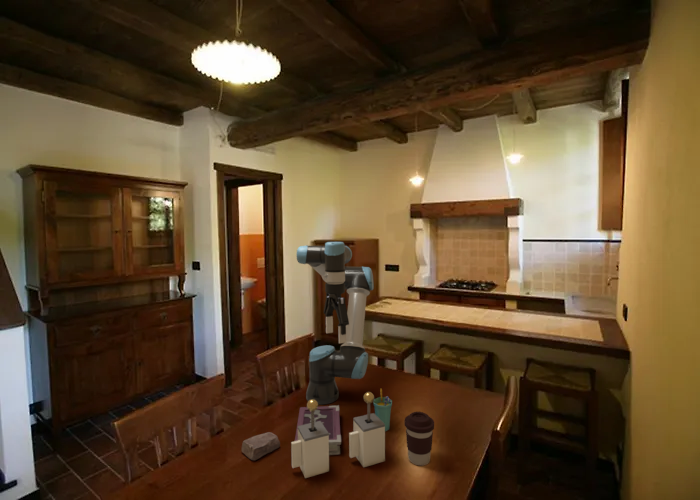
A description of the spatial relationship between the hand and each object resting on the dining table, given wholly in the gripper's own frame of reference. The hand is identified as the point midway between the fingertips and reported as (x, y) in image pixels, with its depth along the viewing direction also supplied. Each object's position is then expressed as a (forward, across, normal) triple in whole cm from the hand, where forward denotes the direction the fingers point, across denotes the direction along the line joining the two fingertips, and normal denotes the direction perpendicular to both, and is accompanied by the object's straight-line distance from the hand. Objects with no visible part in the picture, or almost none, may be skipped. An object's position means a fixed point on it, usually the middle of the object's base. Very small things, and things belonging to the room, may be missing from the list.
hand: (335, 337), depth 136 cm
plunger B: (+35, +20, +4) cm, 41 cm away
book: (+37, 0, -7) cm, 38 cm away
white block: (+37, +20, +2) cm, 42 cm away
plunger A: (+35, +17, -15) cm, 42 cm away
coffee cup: (+37, +28, +19) cm, 50 cm away
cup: (+37, +7, +17) cm, 41 cm away
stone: (+37, 0, -29) cm, 47 cm away
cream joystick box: (+37, +17, -17) cm, 44 cm away
